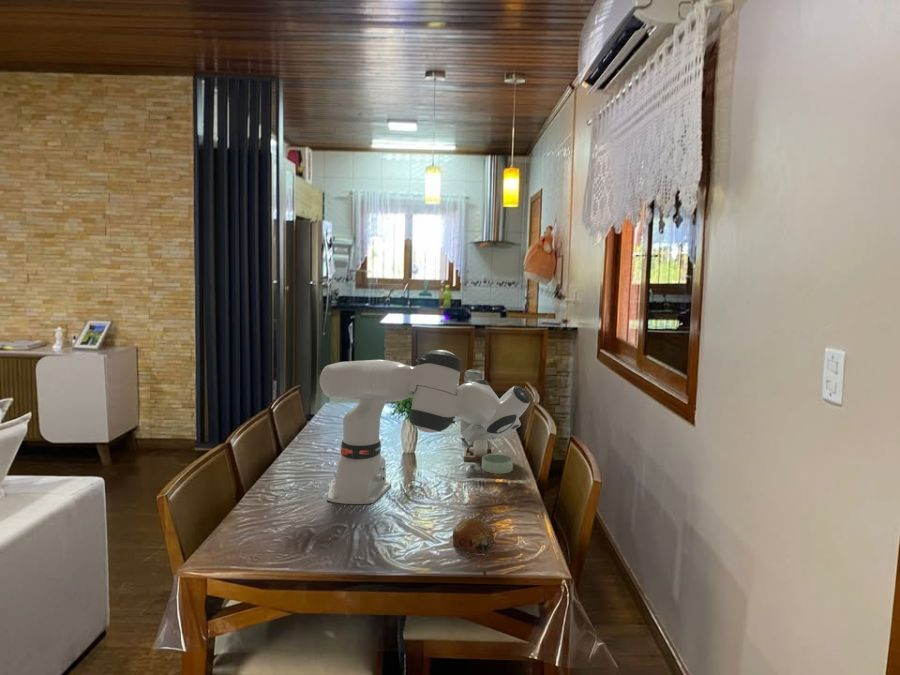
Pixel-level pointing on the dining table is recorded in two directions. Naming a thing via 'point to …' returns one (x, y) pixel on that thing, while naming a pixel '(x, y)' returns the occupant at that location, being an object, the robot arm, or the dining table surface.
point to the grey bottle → (468, 376)
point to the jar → (480, 447)
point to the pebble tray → (477, 459)
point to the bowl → (497, 463)
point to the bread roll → (473, 535)
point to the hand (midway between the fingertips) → (479, 441)
